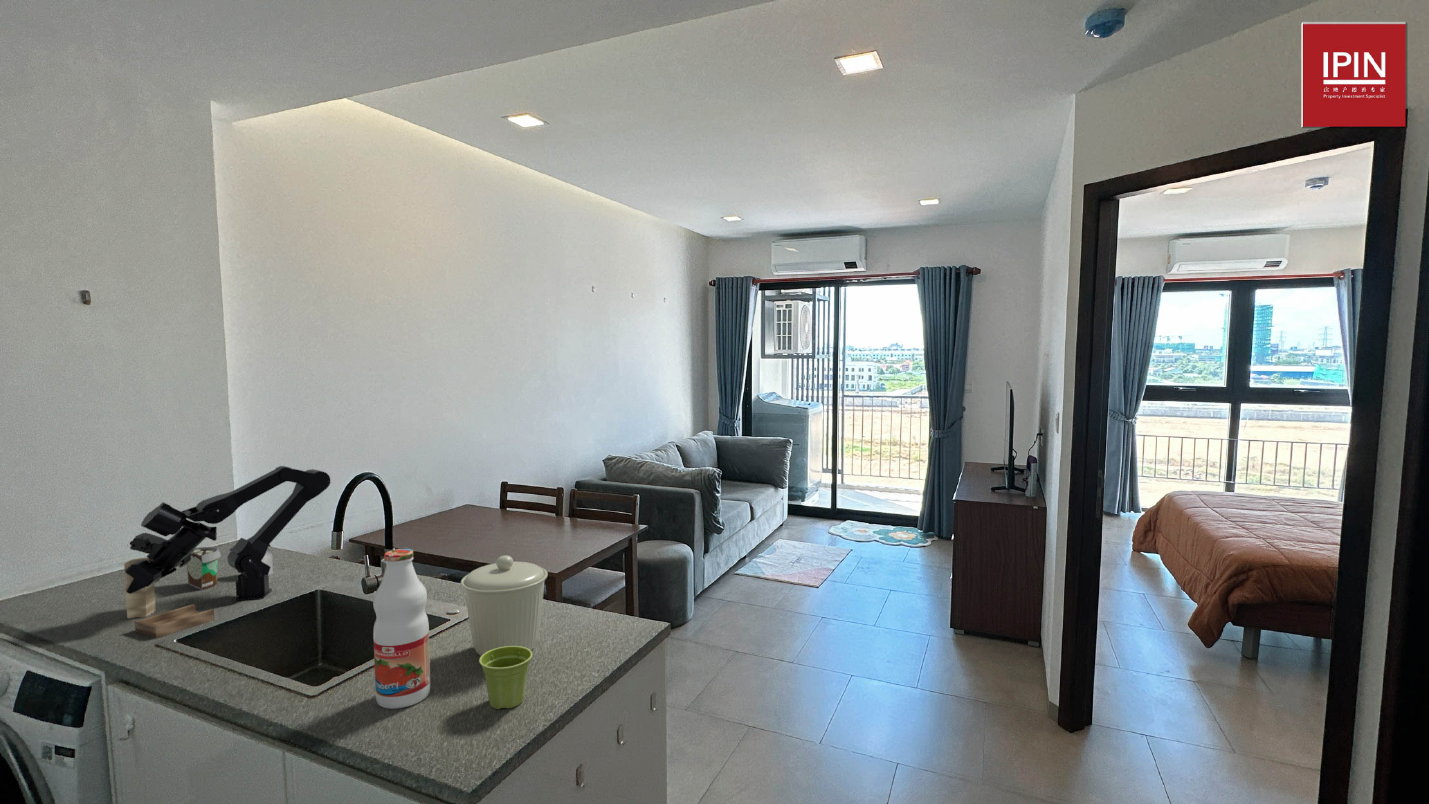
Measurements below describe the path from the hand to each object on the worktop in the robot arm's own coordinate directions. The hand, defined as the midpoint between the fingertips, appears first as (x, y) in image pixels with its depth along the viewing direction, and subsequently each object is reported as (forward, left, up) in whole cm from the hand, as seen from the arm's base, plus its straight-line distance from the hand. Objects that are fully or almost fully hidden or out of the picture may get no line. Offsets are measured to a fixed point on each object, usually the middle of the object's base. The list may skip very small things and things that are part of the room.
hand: (133, 589), depth 164 cm
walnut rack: (-13, +11, -7) cm, 18 cm away
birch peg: (-1, 0, -7) cm, 7 cm away
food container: (-6, -22, -7) cm, 24 cm away
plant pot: (-92, +70, -7) cm, 116 cm away
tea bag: (-17, -27, -7) cm, 33 cm away
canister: (-91, +47, -7) cm, 103 cm away
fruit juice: (-73, +63, -7) cm, 97 cm away
